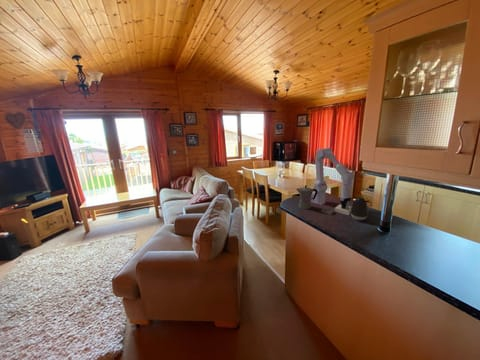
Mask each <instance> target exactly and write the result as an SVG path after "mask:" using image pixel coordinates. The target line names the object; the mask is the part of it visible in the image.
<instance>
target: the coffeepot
mask: <svg viewBox="0 0 480 360" xmlns="http://www.w3.org/2000/svg"><path fill="white" fill-rule="evenodd" d="M295 190H297V192H298V194H299V197H300V198H299V201H298V208H299V209H301V210H302V209H303V210H309V209H311V207H312V206H311V205H312V204H311V200H312V199H315V197H316V195H317V193H318V191H317V190H316V189H314V188H311V187H308V186H307V185H304V186H303V187H299V188H298V187H297V188H296V189H295ZM313 191H315V195H314V198H312V193H313Z"/></svg>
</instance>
